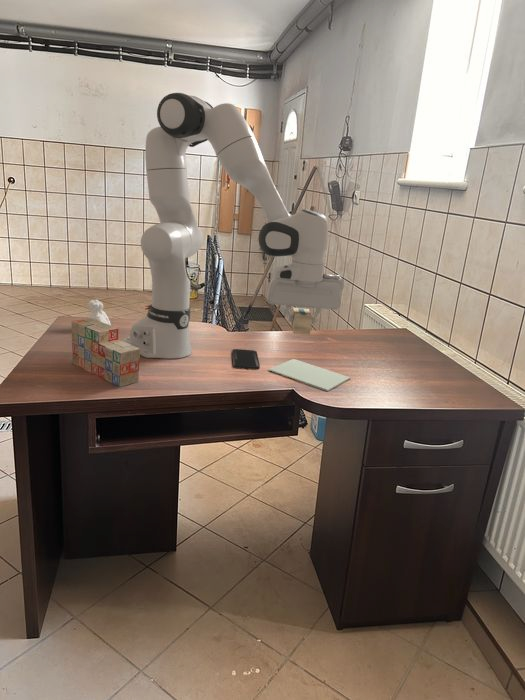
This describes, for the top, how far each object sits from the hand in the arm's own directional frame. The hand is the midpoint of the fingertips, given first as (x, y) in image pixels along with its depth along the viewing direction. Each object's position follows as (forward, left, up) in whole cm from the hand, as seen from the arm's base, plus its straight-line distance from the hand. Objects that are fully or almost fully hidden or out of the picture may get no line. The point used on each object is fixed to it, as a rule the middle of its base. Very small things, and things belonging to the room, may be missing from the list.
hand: (301, 322), depth 143 cm
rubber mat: (+2, +6, -17) cm, 18 cm away
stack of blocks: (-37, -37, -17) cm, 55 cm away
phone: (-18, +1, -17) cm, 25 cm away
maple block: (0, 0, -2) cm, 2 cm away
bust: (-67, -15, -17) cm, 71 cm away
